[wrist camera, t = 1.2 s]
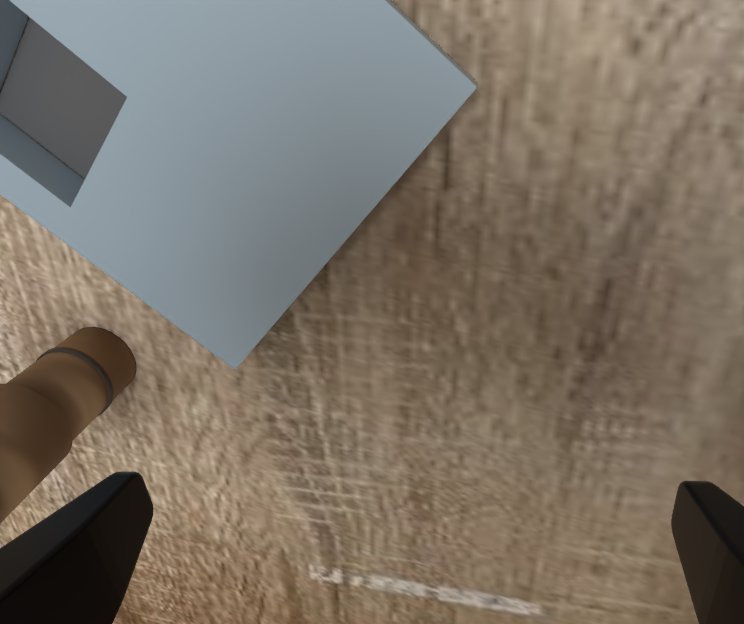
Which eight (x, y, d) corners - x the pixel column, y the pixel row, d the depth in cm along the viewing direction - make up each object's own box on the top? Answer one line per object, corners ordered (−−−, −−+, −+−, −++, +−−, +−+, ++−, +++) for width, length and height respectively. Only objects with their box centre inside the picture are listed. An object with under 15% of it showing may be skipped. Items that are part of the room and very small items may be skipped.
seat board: (477, 82, 18) (477, 87, 16) (252, 345, 24) (234, 369, 22) (53, -320, 15) (-2, -367, 13) (-75, 95, 21) (-125, 101, 19)
